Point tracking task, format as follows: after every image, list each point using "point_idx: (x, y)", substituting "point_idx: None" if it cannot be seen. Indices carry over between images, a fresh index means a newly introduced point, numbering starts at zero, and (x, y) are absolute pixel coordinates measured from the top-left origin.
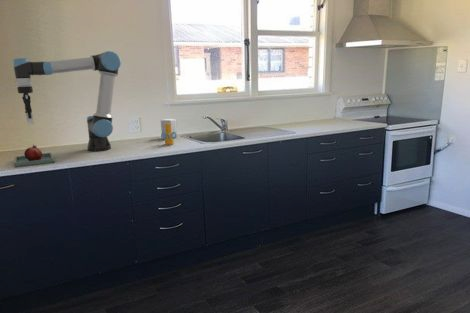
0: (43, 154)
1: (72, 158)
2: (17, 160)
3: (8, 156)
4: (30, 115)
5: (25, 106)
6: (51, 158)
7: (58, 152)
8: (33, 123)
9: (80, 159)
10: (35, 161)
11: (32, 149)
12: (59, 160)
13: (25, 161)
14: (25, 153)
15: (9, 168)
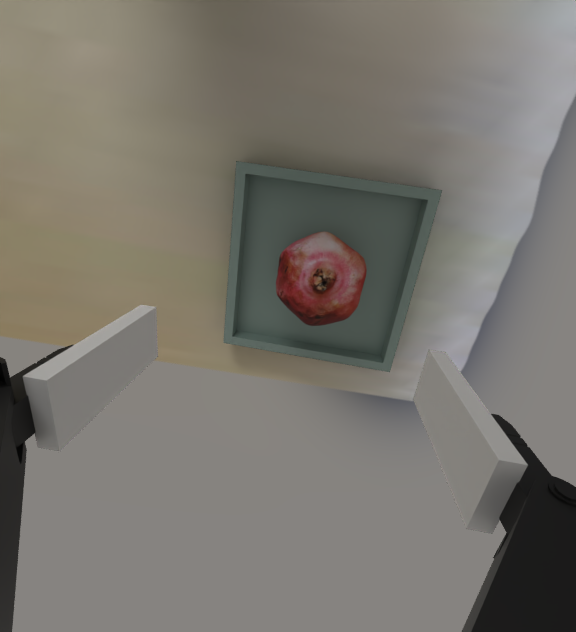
0: (244, 209)
1: (402, 59)
2: (253, 331)
3: None
4: (528, 457)
5: (17, 541)
6: (428, 201)
7: (136, 95)
8: (447, 355)
9: (483, 14)
10: (413, 285)
11: (349, 295)
12: (395, 150)
13: None
14: (329, 323)
15: (384, 380)
